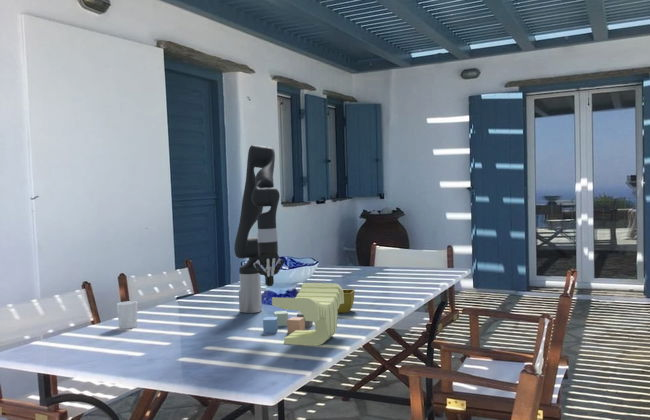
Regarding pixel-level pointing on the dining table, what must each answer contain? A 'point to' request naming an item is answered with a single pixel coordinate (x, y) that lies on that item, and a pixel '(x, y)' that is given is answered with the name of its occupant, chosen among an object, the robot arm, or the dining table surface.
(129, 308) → the white cup
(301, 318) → the terracotta block
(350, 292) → the flower pot
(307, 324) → the charcoal block
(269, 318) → the blue block
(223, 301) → the dining table surface
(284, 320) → the sage block
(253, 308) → the robot arm
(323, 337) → the slatted curved stool
